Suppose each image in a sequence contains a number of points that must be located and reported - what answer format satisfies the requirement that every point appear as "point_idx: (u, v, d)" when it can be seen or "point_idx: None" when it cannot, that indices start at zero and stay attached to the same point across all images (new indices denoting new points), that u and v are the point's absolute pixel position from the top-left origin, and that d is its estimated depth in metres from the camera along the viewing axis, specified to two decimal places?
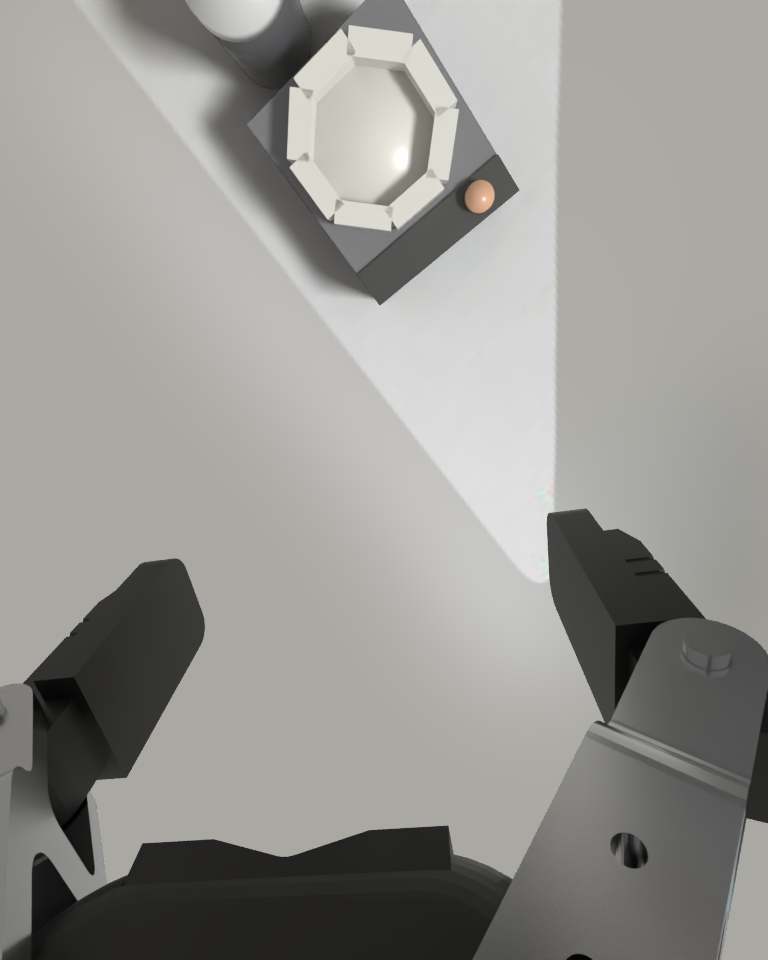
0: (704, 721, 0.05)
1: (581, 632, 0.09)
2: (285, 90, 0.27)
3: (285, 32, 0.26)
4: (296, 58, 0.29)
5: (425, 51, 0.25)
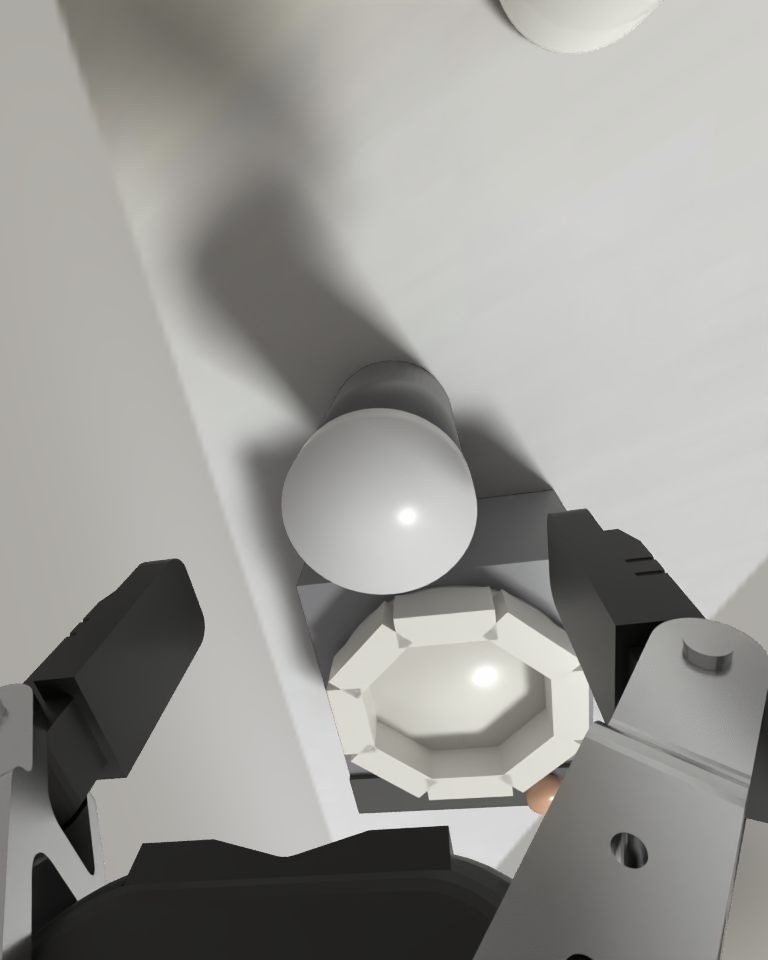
0: (704, 721, 0.05)
1: (581, 632, 0.09)
2: None
3: None
4: None
5: (585, 683, 0.17)
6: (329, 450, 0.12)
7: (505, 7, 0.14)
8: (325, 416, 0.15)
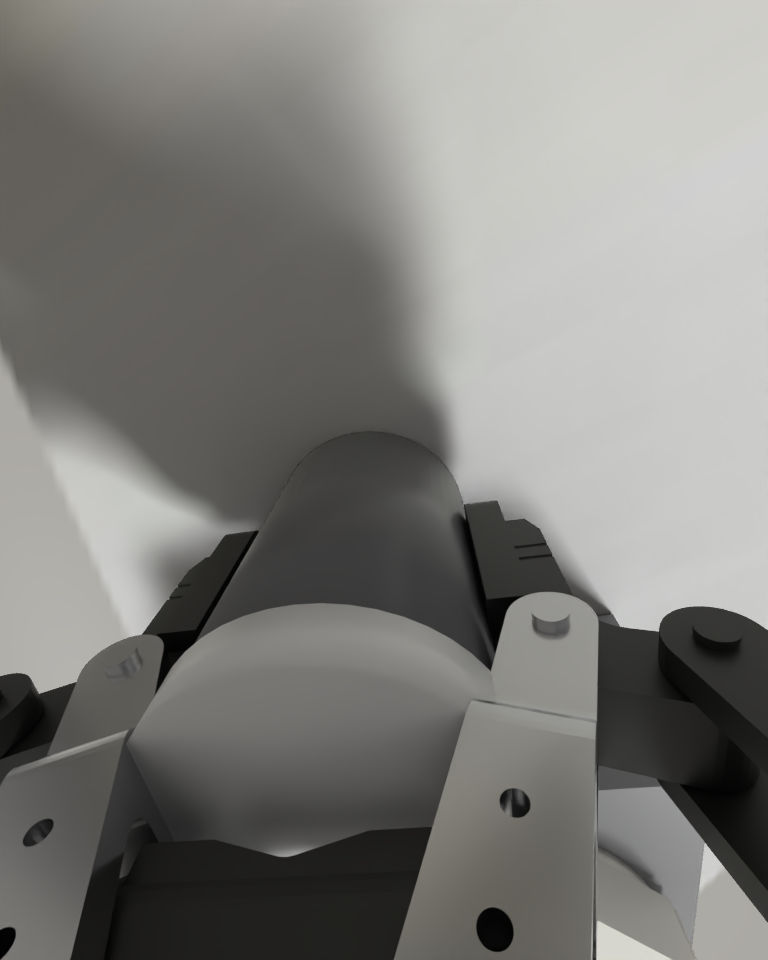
0: (556, 677, 0.06)
1: None
2: None
3: None
4: None
5: None
6: (206, 720, 0.05)
7: None
8: (245, 557, 0.09)
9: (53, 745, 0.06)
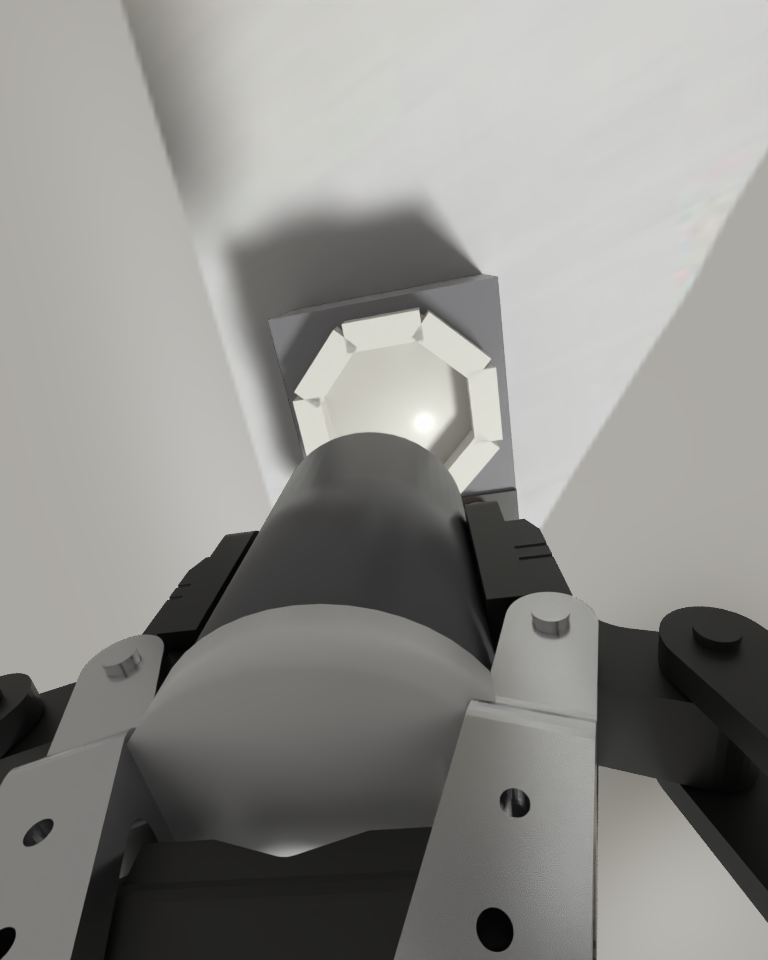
0: (556, 677, 0.06)
1: None
2: (329, 313, 0.22)
3: None
4: None
5: (495, 381, 0.21)
6: (207, 720, 0.05)
7: None
8: (245, 558, 0.09)
9: (53, 745, 0.06)
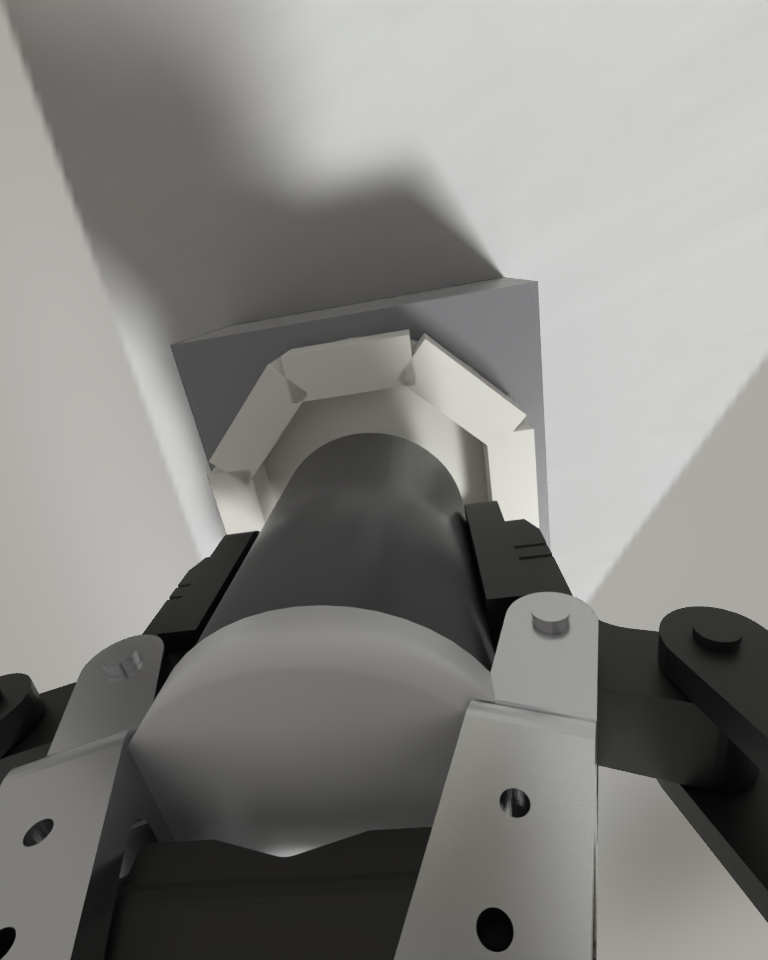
0: (556, 677, 0.06)
1: None
2: (267, 336, 0.14)
3: None
4: None
5: (531, 450, 0.13)
6: (208, 722, 0.05)
7: None
8: (246, 559, 0.09)
9: (54, 745, 0.06)
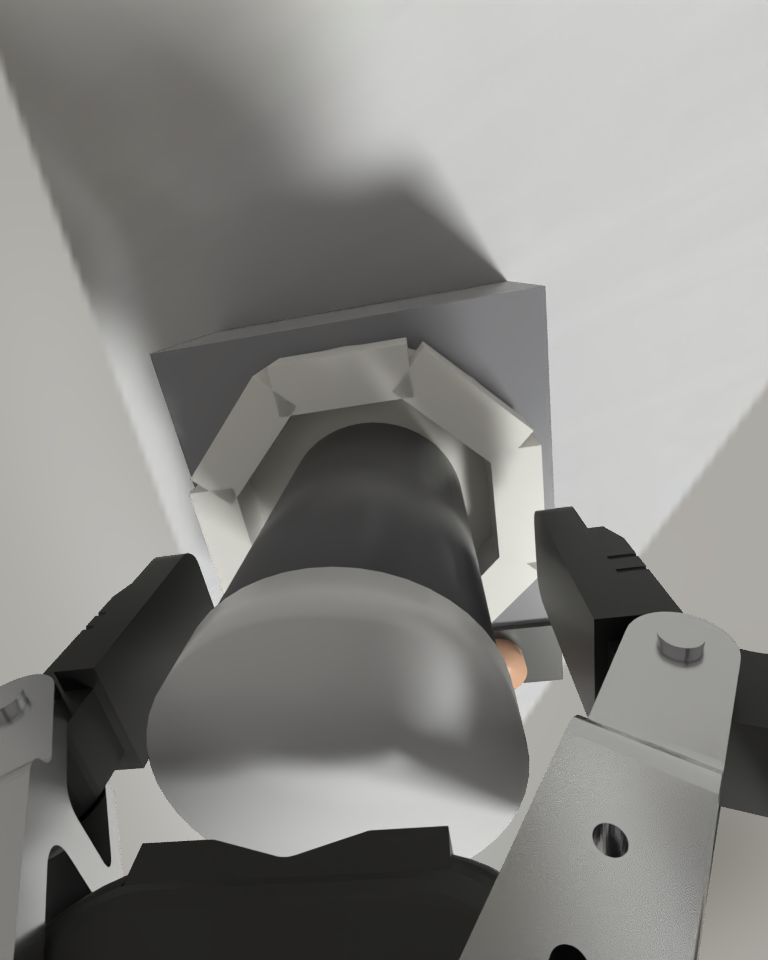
0: (679, 710, 0.05)
1: (565, 627, 0.09)
2: (253, 345, 0.13)
3: None
4: None
5: (538, 468, 0.12)
6: (232, 666, 0.06)
7: None
8: (259, 535, 0.09)
9: None
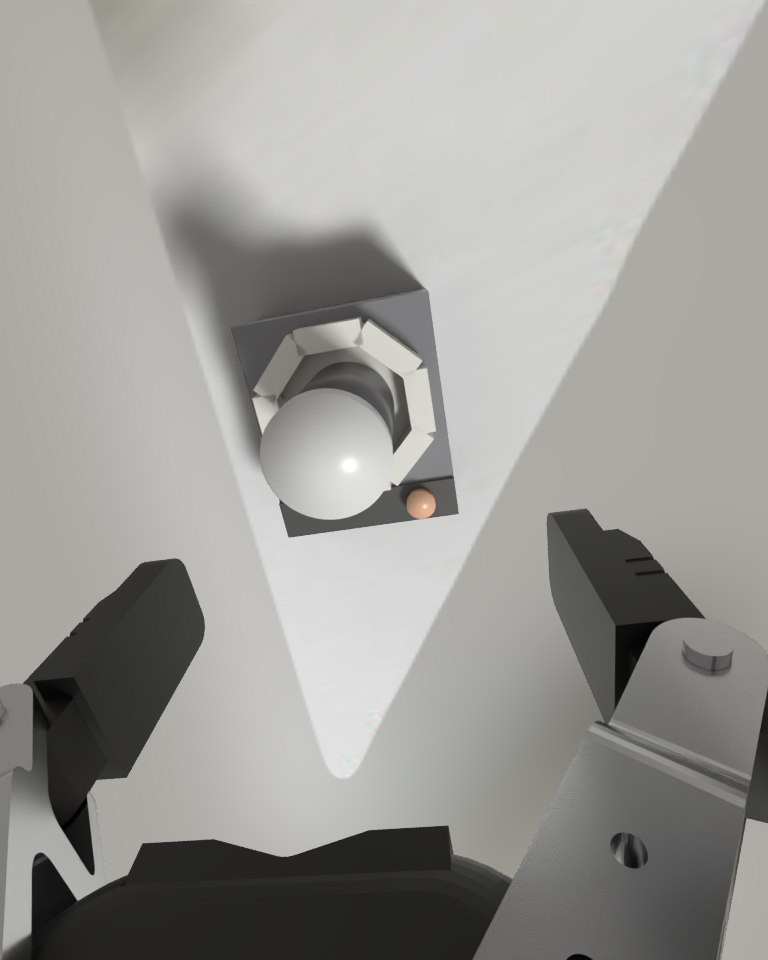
0: (704, 721, 0.05)
1: (581, 632, 0.09)
2: (284, 322, 0.25)
3: None
4: None
5: (426, 380, 0.24)
6: (291, 415, 0.18)
7: None
8: None
9: None
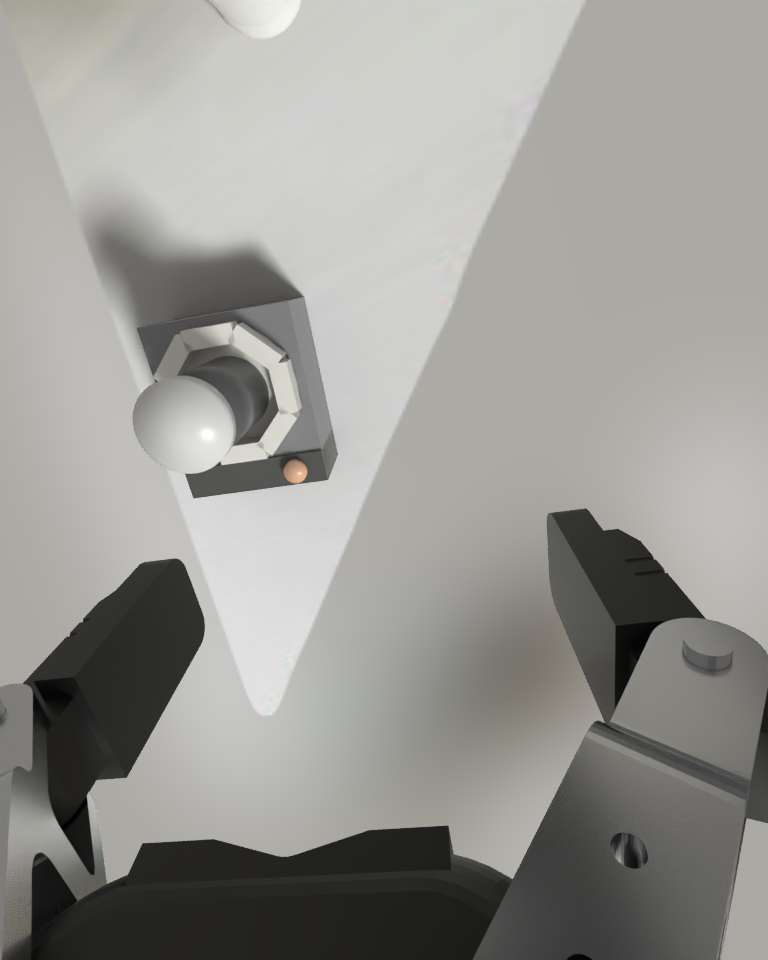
0: (704, 721, 0.05)
1: (581, 632, 0.09)
2: (178, 324, 0.32)
3: None
4: None
5: (286, 371, 0.31)
6: (153, 395, 0.25)
7: None
8: None
9: None
